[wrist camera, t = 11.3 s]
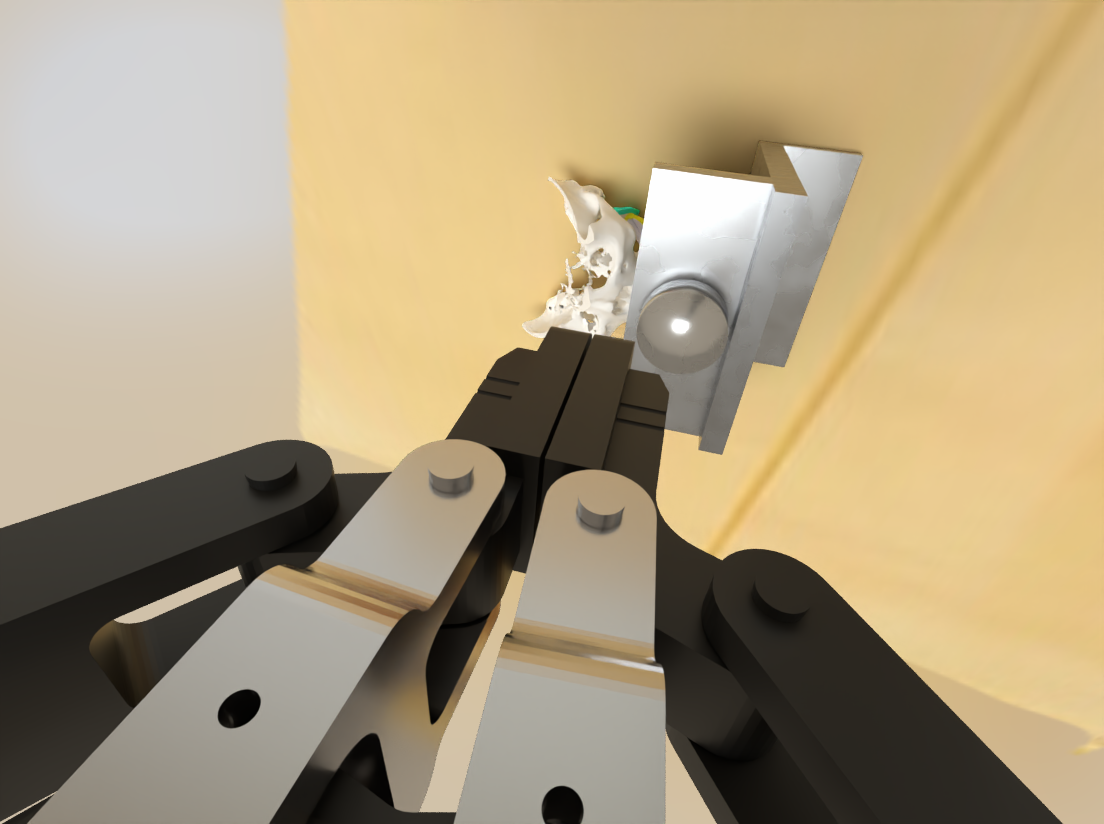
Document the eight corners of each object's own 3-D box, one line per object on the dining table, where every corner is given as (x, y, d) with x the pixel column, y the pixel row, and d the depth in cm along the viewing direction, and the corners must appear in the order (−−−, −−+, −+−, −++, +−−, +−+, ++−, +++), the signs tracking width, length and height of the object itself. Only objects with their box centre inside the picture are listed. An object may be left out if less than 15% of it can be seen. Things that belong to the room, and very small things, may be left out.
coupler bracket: (670, 129, 39) (648, 176, 27) (860, 153, 37) (924, 215, 25) (632, 335, 48) (605, 435, 37) (783, 362, 46) (804, 476, 35)
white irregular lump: (675, 370, 46) (576, 387, 41) (614, 317, 51) (522, 326, 47) (730, 224, 39) (619, 224, 34) (653, 181, 44) (548, 176, 40)
